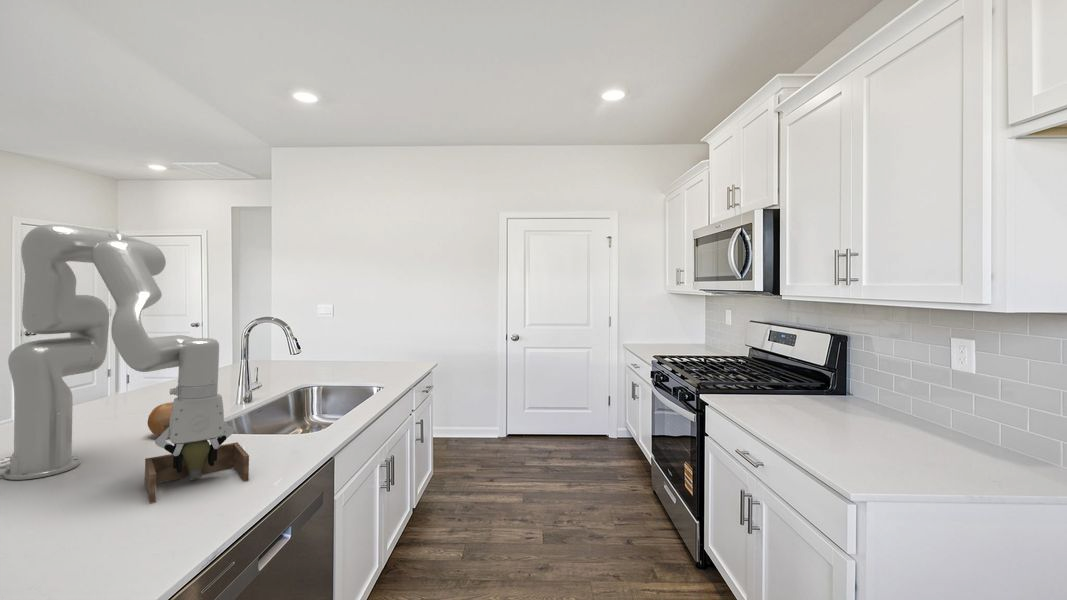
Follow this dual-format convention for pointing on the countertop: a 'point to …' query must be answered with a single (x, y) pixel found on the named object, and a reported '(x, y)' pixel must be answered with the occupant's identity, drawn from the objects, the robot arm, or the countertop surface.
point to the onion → (160, 418)
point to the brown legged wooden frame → (163, 470)
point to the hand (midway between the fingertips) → (195, 466)
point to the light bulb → (195, 457)
